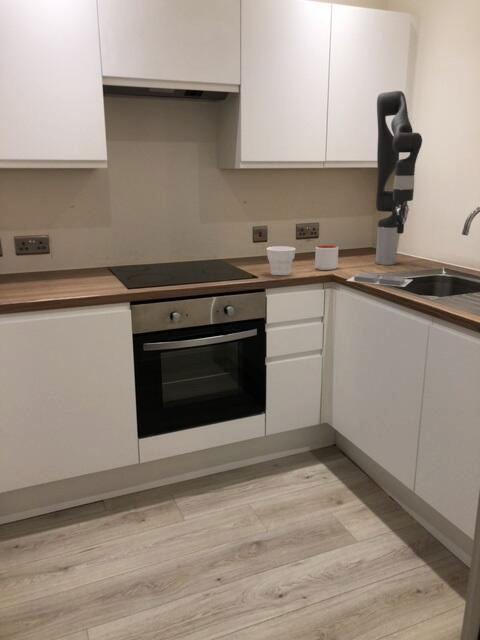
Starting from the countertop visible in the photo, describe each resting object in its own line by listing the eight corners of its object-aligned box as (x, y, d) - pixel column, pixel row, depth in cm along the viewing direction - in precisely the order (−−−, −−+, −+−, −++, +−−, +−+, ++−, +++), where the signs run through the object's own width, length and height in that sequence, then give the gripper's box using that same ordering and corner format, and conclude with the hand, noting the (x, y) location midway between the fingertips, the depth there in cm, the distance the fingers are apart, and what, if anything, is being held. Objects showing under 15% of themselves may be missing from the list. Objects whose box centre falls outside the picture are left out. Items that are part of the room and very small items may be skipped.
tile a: (360, 272, 211) (354, 276, 205) (379, 274, 208) (374, 278, 201) (360, 277, 212) (354, 280, 205) (379, 279, 208) (373, 282, 201)
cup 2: (313, 270, 229) (314, 248, 226) (316, 266, 238) (317, 244, 236) (336, 271, 227) (337, 248, 224) (338, 267, 236) (339, 245, 233)
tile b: (384, 275, 207) (379, 278, 200) (405, 277, 203) (400, 281, 196) (384, 279, 207) (378, 283, 200) (404, 281, 203) (399, 285, 197)
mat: (357, 275, 218) (357, 274, 217) (412, 280, 206) (412, 279, 206) (345, 281, 206) (345, 280, 206) (404, 287, 195) (404, 286, 195)
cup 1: (292, 277, 215) (293, 251, 212) (263, 276, 218) (263, 250, 215) (297, 271, 227) (297, 246, 224) (269, 270, 230) (269, 245, 226)
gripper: (398, 187, 205) (394, 230, 210) (389, 188, 194) (386, 234, 199) (417, 187, 201) (413, 231, 206) (409, 188, 190) (405, 235, 195)
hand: (400, 233), depth 202 cm, fingers closed
